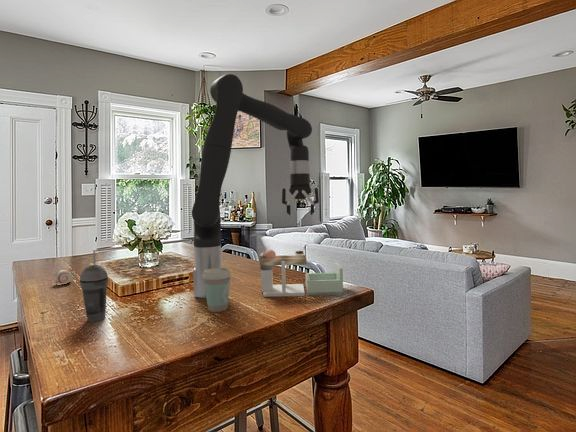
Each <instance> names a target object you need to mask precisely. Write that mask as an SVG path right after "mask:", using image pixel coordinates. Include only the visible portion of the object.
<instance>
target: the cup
mask: <svg viewBox="0 0 576 432" xmlns="http://www.w3.org/2000/svg"><path fill="white" fill-rule="evenodd" d="M334 271H335V272H310V273H309V272H306V273H305V289H306V295H307V296H309V297H310V296H343V295H344V274H343V273H344V272H343V271H344V269H343V267H342V266H341V264H340V262H338V261H335V262H334Z"/></svg>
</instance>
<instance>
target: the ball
mask: <svg viewBox="0 0 576 432" xmlns="http://www.w3.org/2000/svg"><path fill="white" fill-rule="evenodd" d="M264 256H265V259H275V257H276V256H277V254H276V252H275V251H274V250H273V249H267V250H266V251H265V252H264Z"/></svg>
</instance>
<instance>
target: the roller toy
mask: <svg viewBox="0 0 576 432" xmlns="http://www.w3.org/2000/svg"><path fill="white" fill-rule="evenodd" d="M53 279H54V284H55V283H66V282H71V281H72V282H73V275H72V273H71V272H70V271H68V270H67V269H66V270H65V269H60V270H58V271H57V272H55V274H54V276H53ZM72 282H71V283H72Z"/></svg>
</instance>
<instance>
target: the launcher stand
mask: <svg viewBox="0 0 576 432" xmlns="http://www.w3.org/2000/svg"><path fill="white" fill-rule="evenodd" d="M280 267H281V284H274V281H273V279H274V278H273V277H274V276H273V271H274V270H273V268H272V269H260V271H259V272H260V291H262V292H263V294H262V297H264V298H265V297H266V298H267V297H268V298H269V297H302V296H303V297H304V296H306V295H305V287H304V284H303V283H293V284H291V283H290V284H289V283H286V281H287V279H286V265H285V261H281V265H280Z"/></svg>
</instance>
